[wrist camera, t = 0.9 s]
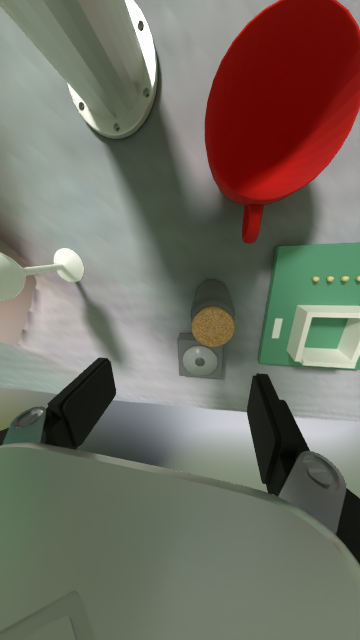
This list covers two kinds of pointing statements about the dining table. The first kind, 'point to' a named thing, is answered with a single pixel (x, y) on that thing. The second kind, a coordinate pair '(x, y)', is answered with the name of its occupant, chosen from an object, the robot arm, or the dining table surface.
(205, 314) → the bottle
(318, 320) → the board
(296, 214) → the dining table surface
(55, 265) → the champagne flute
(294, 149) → the ceramic cup
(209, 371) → the speaker
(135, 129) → the robot arm
